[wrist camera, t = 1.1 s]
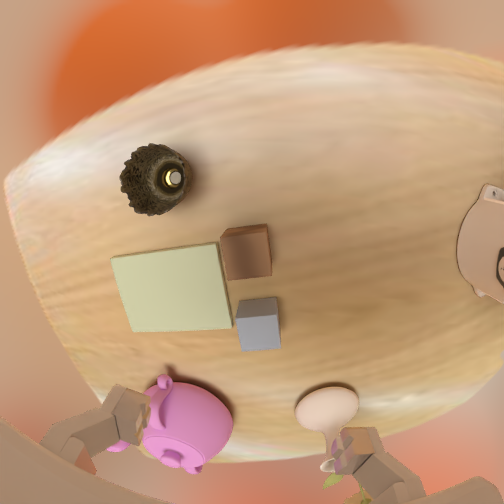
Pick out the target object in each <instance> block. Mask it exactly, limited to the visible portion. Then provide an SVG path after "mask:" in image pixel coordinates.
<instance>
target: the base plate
mask: <svg viewBox="0 0 504 504" xmlns="http://www.w3.org/2000/svg"><path fill="white" fill-rule="evenodd" d="M110 261H111V265H112V269H113V272H114V276H115V279H116V283H117V286H118V289H119V293H120V296H121V299H122V302H123V305H124V308H125V311H126V314H127V317H128V320H129V323H130V325H131V328H132V331H133V332H164V331H193V330H212V329H227V328H232V327H233V320H232V315H231V310H230V305H229V300H228V295H227V290H226V285H225V280H224V275H223V269H222V264H221V258H220V253H219V247H218V242H213V243H206V244H198V245H191V246H184V247H177V248H169V249H162V250H155V251H148V252H141V253H134V254H127V255H120V256H114V257H112V258H111V259H110Z"/></svg>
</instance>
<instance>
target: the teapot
mask: <svg viewBox="0 0 504 504" xmlns="http://www.w3.org/2000/svg"><path fill="white" fill-rule="evenodd" d="M157 383H158V384H157V385H154V386H152V387H150V388H149V389H147V390H146V391H145V392H144V393H143V394H145V395H148V396H150V398H151V402H150V405H149V406H150V408H151V416H150V420H149V423H148V426H147V428H145V429H143V433H144V436H143V438H142V441H143V444H144V446H145V448H146V449H147V450H148V451H149V453H151V454H152V455H153V456H154V457H156V458H157V459H159V460H160V461H161V462H162V463H163V464H165V465H167V466H170V467H174V468H179V467H184V468H185V470H186V472H188V473H190V474H198V473H200V472H201V470H202V466H203V464H204V463H206V462H208V461H209V460H210V459H212V458H213V457H214V456H215V455H217V454H218V453H219V452H220V451H221V450H222V449H223V447H224V446H225V445H226V443H227V441H228V440H229V437H230V435H231V433H232V429H233V420H232V417H231V414H230V412H229V410H228V409H227V408H226V406H225V405H224V404H223V403H222V402H221V401H220V400H219V399H218V398H217V397H215V396H214V395H213V394H212V393H210V392H208V391H207V390H205V389H203V388H201V387H198V386H195V385H192V384H188V383H182V382H173V381H172V379H171V377H169V376H168V375H165V374H162V375H160V376H158V379H157ZM130 444H131V443H128V442H125V441H122V440H120V441H119V442H117V443H115V444H114V445H112V446H111V447H109V448H107V449H106V450H108V451H111V452H119V451H122V450H124V449H126V448H127V447H128V446H129V445H130Z"/></svg>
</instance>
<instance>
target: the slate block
mask: <svg viewBox="0 0 504 504" xmlns="http://www.w3.org/2000/svg"><path fill="white" fill-rule="evenodd" d="M235 320H236V325H237V330H238V335H239V340H240V344H241V349H242V351H256V350H268V349H278V348H281V338H280V323H279V315H278V306H277V298H276V297H272V298H263V299H253V300H243V301H239V306H238V310H237V314H236V318H235Z"/></svg>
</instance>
